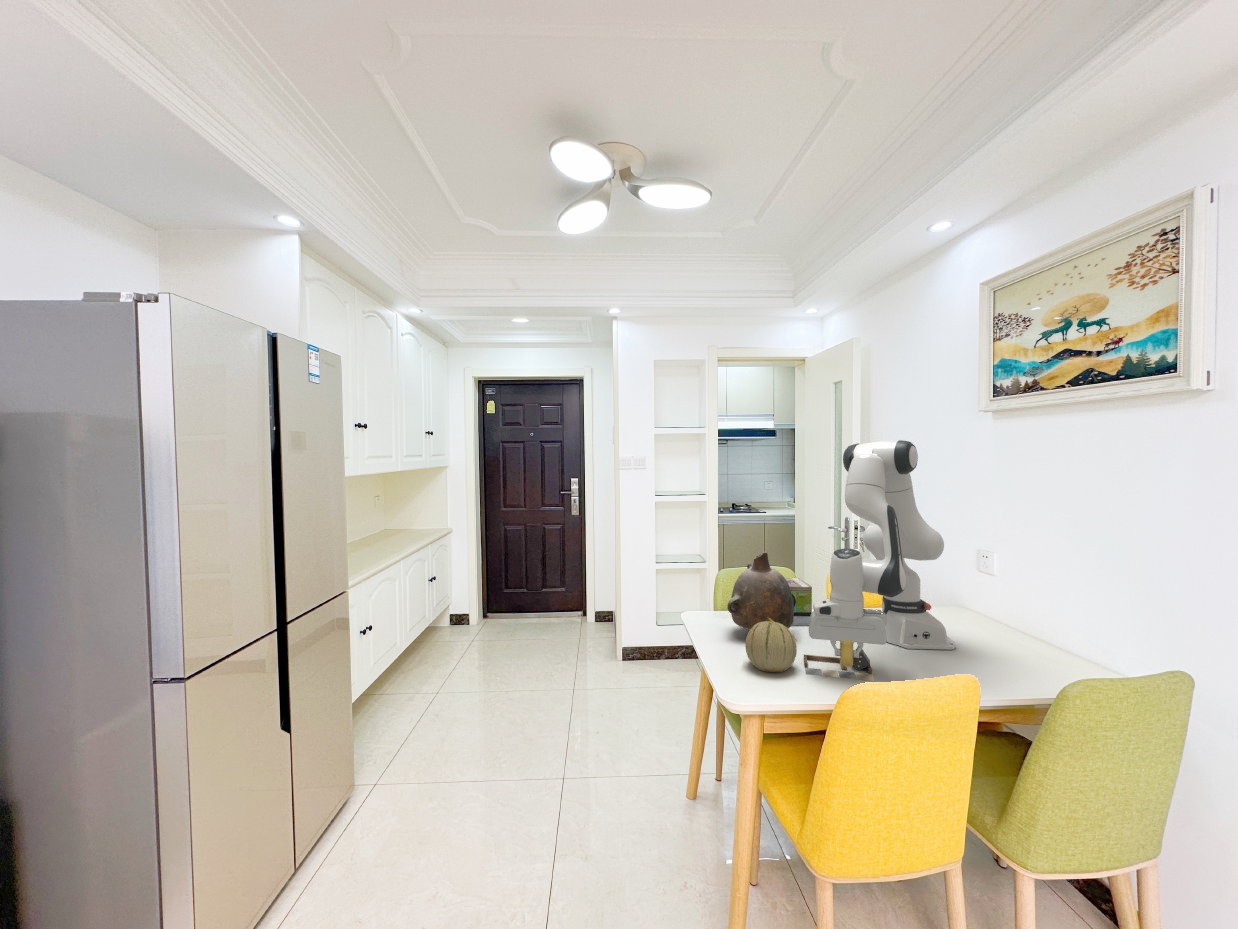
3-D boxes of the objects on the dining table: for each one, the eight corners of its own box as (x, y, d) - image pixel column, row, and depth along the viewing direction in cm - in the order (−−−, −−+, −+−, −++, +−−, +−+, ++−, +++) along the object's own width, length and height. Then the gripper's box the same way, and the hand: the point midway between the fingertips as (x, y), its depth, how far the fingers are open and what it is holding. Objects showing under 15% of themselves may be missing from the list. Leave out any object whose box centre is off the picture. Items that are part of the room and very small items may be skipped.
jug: (753, 621, 205) (753, 543, 204) (807, 634, 190) (806, 549, 189) (716, 637, 188) (715, 551, 187) (771, 652, 173) (770, 559, 172)
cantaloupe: (760, 684, 149) (760, 630, 149) (736, 664, 163) (736, 615, 163) (807, 678, 152) (807, 625, 152) (780, 659, 167) (780, 611, 166)
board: (868, 668, 159) (868, 660, 159) (875, 685, 147) (874, 676, 147) (803, 662, 164) (803, 654, 164) (805, 678, 152) (805, 669, 152)
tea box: (812, 626, 199) (812, 586, 199) (785, 626, 199) (785, 586, 199) (800, 614, 214) (799, 577, 214) (774, 614, 214) (774, 577, 214)
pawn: (853, 667, 149) (854, 636, 149) (839, 665, 151) (839, 634, 150) (853, 662, 152) (854, 632, 152) (839, 660, 154) (839, 630, 154)
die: (857, 665, 159) (870, 659, 157) (857, 670, 155) (870, 664, 153) (848, 653, 159) (861, 647, 158) (849, 658, 156) (862, 651, 154)
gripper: (885, 607, 151) (885, 656, 151) (808, 602, 157) (808, 649, 157) (889, 613, 145) (889, 664, 145) (809, 607, 151) (809, 656, 151)
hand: (846, 656), depth 151 cm, fingers closed on pawn, 3 cm apart
